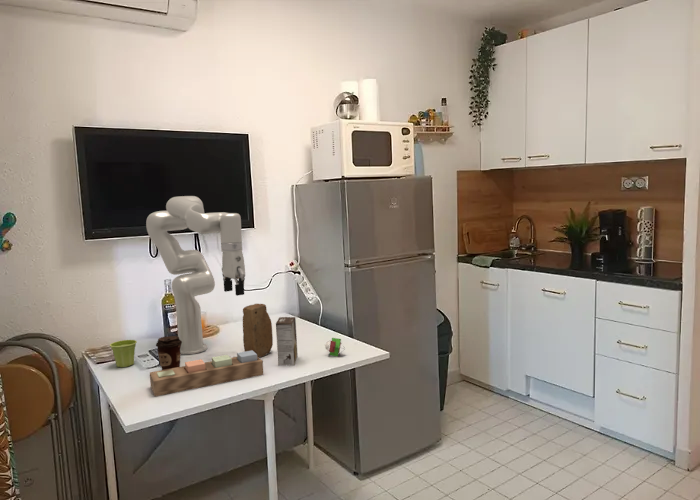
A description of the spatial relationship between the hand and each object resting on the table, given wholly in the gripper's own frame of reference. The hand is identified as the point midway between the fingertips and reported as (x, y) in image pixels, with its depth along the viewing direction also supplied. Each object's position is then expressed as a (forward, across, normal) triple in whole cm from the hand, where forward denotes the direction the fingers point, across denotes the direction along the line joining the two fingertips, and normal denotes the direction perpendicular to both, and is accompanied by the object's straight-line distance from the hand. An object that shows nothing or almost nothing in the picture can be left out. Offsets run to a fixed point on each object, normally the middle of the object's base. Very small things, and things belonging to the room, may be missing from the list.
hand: (234, 293), depth 194 cm
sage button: (+24, -11, +11) cm, 28 cm away
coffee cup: (+27, +7, +23) cm, 36 cm away
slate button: (+24, -13, +2) cm, 27 cm away
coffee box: (+27, -12, -15) cm, 33 cm away
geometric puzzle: (+27, -18, -32) cm, 46 cm away
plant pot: (+28, +28, +33) cm, 51 cm away
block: (+27, +4, -11) cm, 29 cm away
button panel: (+27, -10, +16) cm, 33 cm away
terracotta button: (+24, -10, +20) cm, 32 cm away
